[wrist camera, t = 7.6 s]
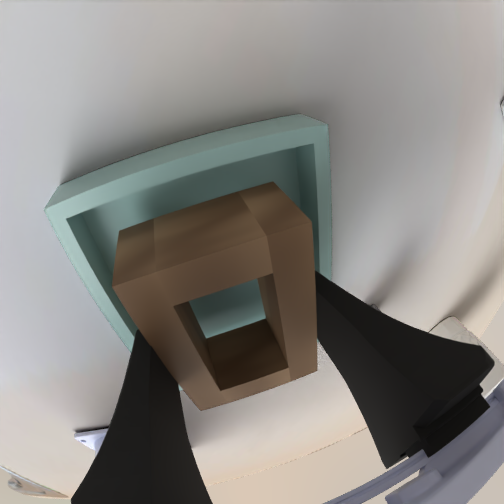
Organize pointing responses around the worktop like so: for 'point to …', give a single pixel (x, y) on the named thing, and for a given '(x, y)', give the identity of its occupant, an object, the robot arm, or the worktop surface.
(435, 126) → the worktop surface
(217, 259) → the frame ring
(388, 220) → the worktop surface
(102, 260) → the tray
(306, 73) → the worktop surface
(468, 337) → the white cup
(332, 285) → the robot arm
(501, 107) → the skincare box
